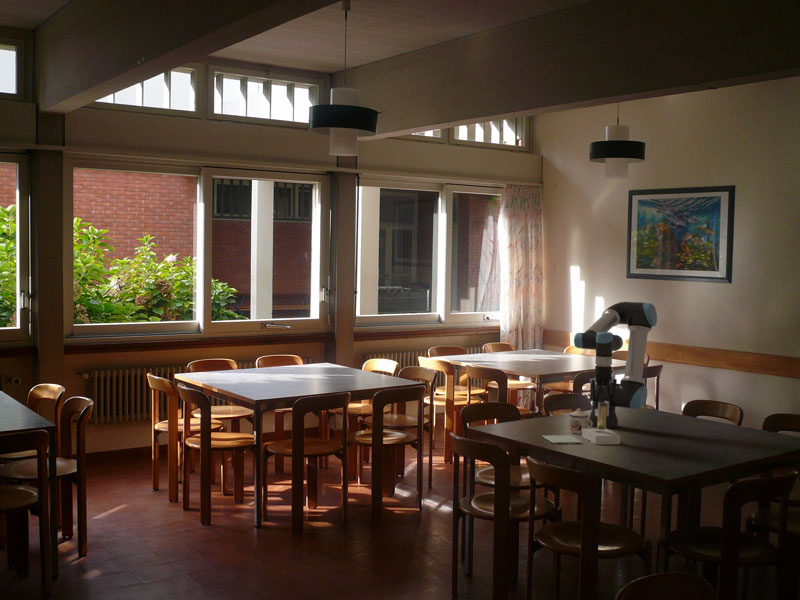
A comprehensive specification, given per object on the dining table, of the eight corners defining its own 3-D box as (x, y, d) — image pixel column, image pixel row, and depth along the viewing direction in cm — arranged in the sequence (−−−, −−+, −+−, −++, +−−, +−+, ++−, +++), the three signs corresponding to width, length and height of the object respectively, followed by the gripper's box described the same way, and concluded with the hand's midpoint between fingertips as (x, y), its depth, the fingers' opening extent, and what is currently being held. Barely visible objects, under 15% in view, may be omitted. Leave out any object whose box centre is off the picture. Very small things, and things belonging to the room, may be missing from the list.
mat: (542, 437, 383) (542, 435, 383) (570, 437, 385) (570, 435, 385) (552, 444, 369) (552, 442, 369) (581, 444, 371) (581, 441, 371)
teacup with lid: (565, 432, 397) (565, 408, 397) (574, 430, 404) (575, 406, 403) (587, 436, 389) (588, 412, 388) (596, 433, 396) (597, 409, 395)
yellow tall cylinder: (595, 427, 381) (596, 402, 381) (602, 427, 383) (603, 402, 382) (599, 429, 377) (600, 403, 377) (607, 429, 379) (608, 403, 378)
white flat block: (581, 437, 387) (582, 428, 387) (605, 436, 389) (606, 428, 389) (595, 444, 371) (595, 435, 371) (620, 444, 373) (620, 435, 373)
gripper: (591, 366, 372) (589, 417, 373) (624, 366, 378) (622, 416, 379) (583, 364, 380) (581, 414, 381) (615, 364, 385) (613, 413, 386)
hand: (601, 415), depth 380 cm, fingers closed on yellow tall cylinder, 4 cm apart
